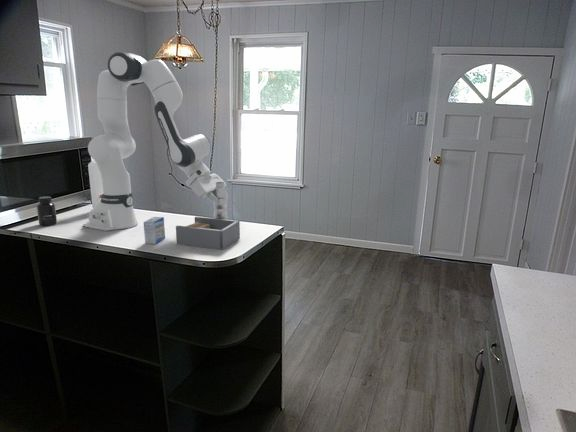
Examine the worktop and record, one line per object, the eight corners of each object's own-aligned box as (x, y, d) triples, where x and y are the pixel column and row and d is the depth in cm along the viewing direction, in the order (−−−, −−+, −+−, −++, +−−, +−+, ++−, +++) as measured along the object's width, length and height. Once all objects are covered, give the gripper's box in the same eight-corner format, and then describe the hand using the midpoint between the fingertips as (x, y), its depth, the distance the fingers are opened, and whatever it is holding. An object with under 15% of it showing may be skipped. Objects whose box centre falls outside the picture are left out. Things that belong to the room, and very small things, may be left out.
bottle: (114, 210, 203) (109, 153, 196) (103, 213, 196) (97, 155, 189) (100, 209, 206) (95, 153, 199) (89, 212, 198) (82, 154, 191)
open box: (176, 244, 153) (175, 226, 151) (196, 233, 167) (196, 216, 165) (223, 249, 148) (222, 231, 146) (239, 237, 162) (239, 220, 160)
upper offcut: (182, 234, 156) (181, 227, 155) (198, 229, 163) (197, 222, 163) (194, 237, 153) (193, 229, 152) (209, 231, 161) (209, 224, 160)
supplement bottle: (47, 227, 173) (43, 199, 170) (35, 225, 175) (31, 198, 172) (61, 223, 179) (57, 196, 176) (49, 221, 181) (45, 195, 178)
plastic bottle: (225, 231, 169) (225, 184, 165) (210, 230, 170) (209, 183, 166) (230, 228, 175) (230, 181, 171) (215, 226, 176) (215, 181, 172)
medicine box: (155, 244, 153) (154, 222, 150) (144, 243, 153) (143, 221, 151) (165, 238, 160) (164, 217, 158) (155, 237, 161) (153, 216, 159)
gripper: (207, 176, 181) (227, 199, 181) (183, 183, 162) (206, 209, 162) (216, 167, 179) (237, 190, 179) (192, 173, 160) (216, 199, 160)
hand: (222, 199), depth 170 cm, fingers open, 7 cm apart
